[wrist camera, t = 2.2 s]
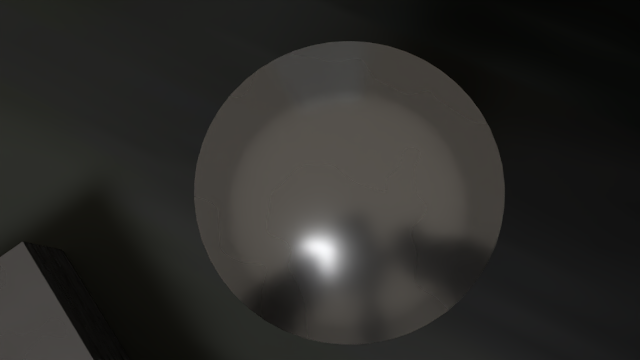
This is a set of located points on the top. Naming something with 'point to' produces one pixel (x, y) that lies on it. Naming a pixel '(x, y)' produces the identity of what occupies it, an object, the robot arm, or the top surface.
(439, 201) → the shiny metal cylinder
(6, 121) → the top surface
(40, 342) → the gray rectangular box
